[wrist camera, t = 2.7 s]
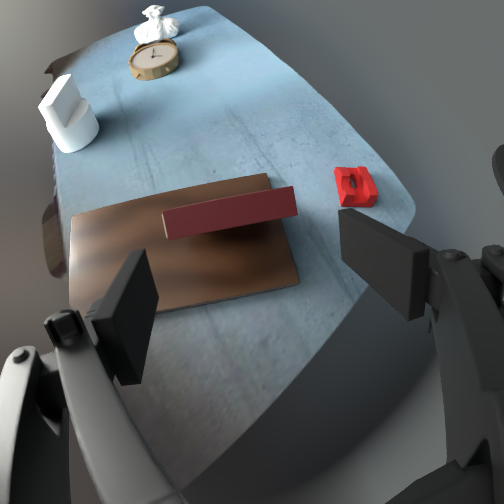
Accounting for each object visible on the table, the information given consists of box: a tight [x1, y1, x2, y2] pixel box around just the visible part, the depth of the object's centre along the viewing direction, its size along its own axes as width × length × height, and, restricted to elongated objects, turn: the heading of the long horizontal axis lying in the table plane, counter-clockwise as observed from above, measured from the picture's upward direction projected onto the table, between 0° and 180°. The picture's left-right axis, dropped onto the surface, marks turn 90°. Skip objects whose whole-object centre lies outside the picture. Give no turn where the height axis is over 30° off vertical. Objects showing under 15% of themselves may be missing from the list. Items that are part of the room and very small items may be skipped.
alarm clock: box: [128, 38, 179, 80], centre depth 59 cm, size 11×5×15 cm
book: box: [162, 186, 298, 240], centre depth 34 cm, size 2×11×16 cm
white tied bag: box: [134, 5, 179, 44], centre depth 63 cm, size 12×8×11 cm
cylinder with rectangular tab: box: [38, 74, 99, 153], centre depth 46 cm, size 9×9×12 cm
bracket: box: [334, 166, 378, 207], centre depth 44 cm, size 6×5×3 cm
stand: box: [69, 173, 299, 319], centre depth 41 cm, size 17×30×1 cm, turn 103°
